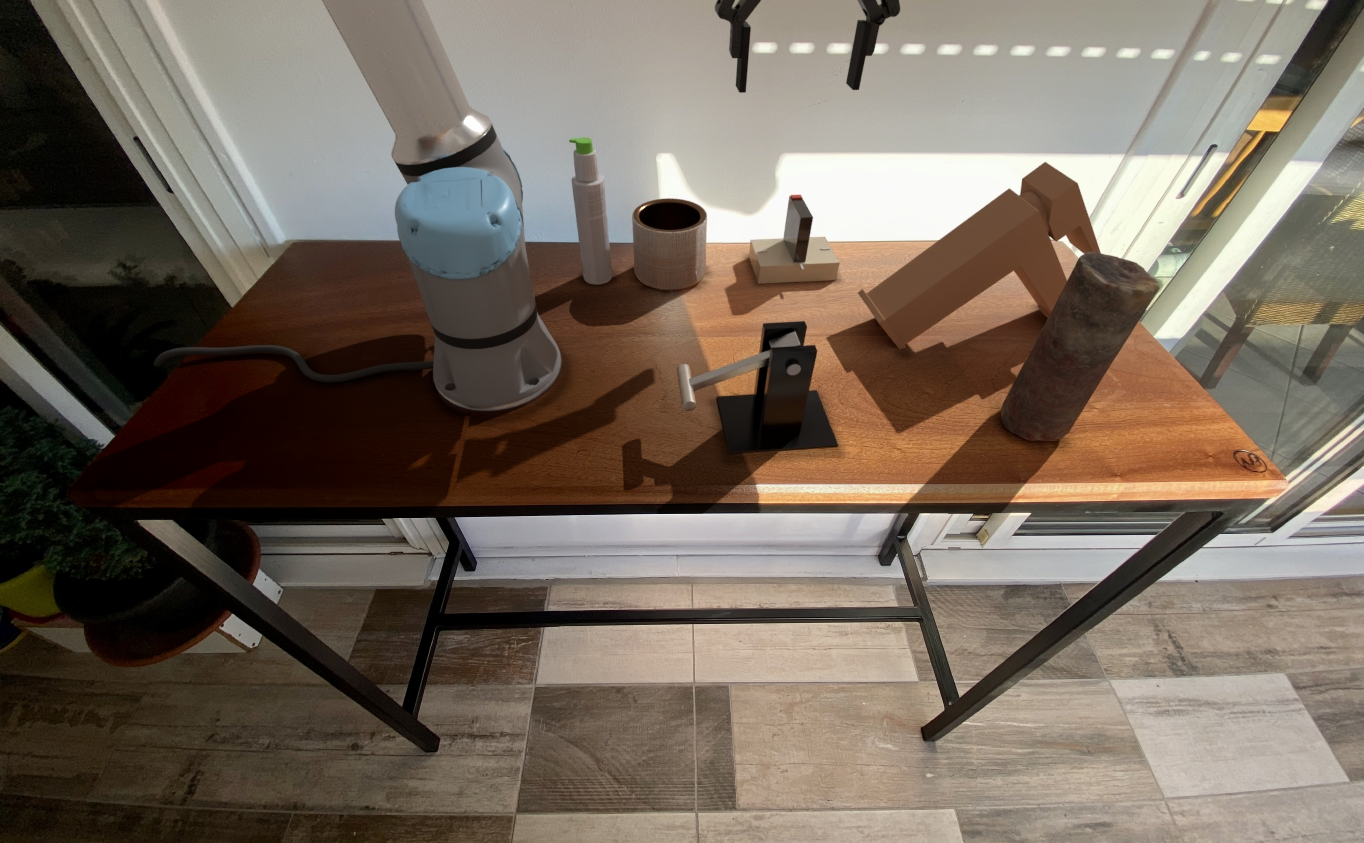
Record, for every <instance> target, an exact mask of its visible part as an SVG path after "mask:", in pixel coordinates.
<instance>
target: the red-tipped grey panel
mask: <svg viewBox="0 0 1364 843" xmlns="http://www.w3.org/2000/svg"><path fill="white" fill-rule="evenodd" d="M813 219H814V216H813V215H812V213H811V210H810V209H809V207H808V206H807V203H806V202H805V200H804V198H803V196H802V194H791V195H789V196H788V203H787V208H786V216H785V223H784V232H783V240H784V242H785V244H786V247H787V249H788V251H789V253H790V255H791V258H792V260H793V262H805V261H806V255H807V250H808V244H809V238H810V237H811V231H812V227H813V221H814V220H813Z"/></svg>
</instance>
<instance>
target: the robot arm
mask: <svg viewBox="0 0 1364 843" xmlns="http://www.w3.org/2000/svg"><path fill="white" fill-rule="evenodd" d="M735 1H736V0H716V3H715V4H714V12H715V13H716V15H717V16H718V18H719V19H721V20H725V21H727V22H729V24H730V25H729V26H730V28H729V29H730V30H729V42H728V44H729V45H728V52H729V54H730V57H731V59H737V60H736V71H735V72H736V74H735V87H736V89H737V91H738V92H739V93H740V94H743V93H747V82H748V71H749V70H748V69H749V67H748V66H749V57H750V44H751V32H752V27H751V25H750V24H749V22H748V21H747V19H748V18H749V17H750V16H751V14H752V13H753V12H754V11H755V9H756V8H757V7H758V5H759V4H760V3H761V2H762V0H738V1H737V3H736V4H735ZM321 2H322V4H323V5H324V7H325V9H326V11H327V12H328V15H329V17H330V18H331V20H332V22H333V24H334V25H335V27H336V29H337V31H338V33H339V34H340V36H341V38H342V40H343V42H344V43H345V45H346V47H347V49H348V51H349V53H350V55H351V56H352V58H353V60H354V63H355V64H356V66H357V67H358V70H359V71H360V73H361V75H362V77H363V78H364V80H365V83H367V86H368V87H369V89H370V91H371V93H372V94H373V96H374V98H375V100H376V102H377V104H378V105H379V107H380V109H381V111H382V113H383V115H384V116H385V118H386V120H387V122H388V124H389V125H390V127H391V129H392V131H393V133H394V136H395V139H394V142H393V144H392V149H391V152H390V156H391V158H392V160H393V162H394V163H395V165H396V167H397V169H398V170H399V172H400V174H401V176H402V177H403V179H404V181H405V183H406V186H405V187H404V188H402V190H401V192H400V193H399V195H398V197H397V198H396V201H395V205H394V220H395V223H396V233H397V237H398V240H399V242H400V244H401V248H402V250H403V252H404V253H405V255H406V257H407V261H408V263H409V266H410V269H411V271H412V274H413V277H414V280H415V283H416V285H417V289H418V291H419V294H420V297H421V300H422V303H423V305H424V308H425V311H426V314H427V316H428V320H429V322H430V325H431V328H432V330H433V333H434V345H433V346H434V347H433V348H434V349H433V360H430V361H429V360H427V361H411V362H410V361H409V362H393V363H385V364H379V365H375V366H370V367H365V368H362V369H359V370H355V371H351V372H346V373H341V374H323V373H318V372H315V371H313V370H312V369H311V368H310V367H309V365H308V364H307V362H306V361H305V359H304V357H303V356H301V354H300V353H298V352H297V351H295V350H293V349H292V348H290V347H287V346H281V345H271V344H261V345H260V344H259V345H243V346H230V347H229V346H228V347H203V346H202V347H201V346H200V347H199V346H187V347H175V348H172V349H169V350H165V351H163V352H161V353H160V354H159V355H158V356H157V357H156V358H155V359H154V361H153V366H154V367H160V366H162V365H164V364H165V363H166V362H167V361H168V360H170V359H171V358H172V359H173V358H175V357H180V356H189V355H190V356H191V355H193V356H194V355H195V356H196V355H198V356H199V355H201V356H229V355H243V354H244V355H245V354H258V353H268V354H269V353H270V354H272V353H273V354H278V355H279V354H281V355H285V356H287V357H290V358H291V359H292V360H293V361H294V362H295V363H296V366H298V368H299V370H300V371H301V373H302V374H303V375H304V376H306V377H307V378H309V379H311V380H312V381H314V382H319V383H325V384H326V383H329V384H333V383H343V382H348V381H353V380H357V379H361V378H365V377H369V376H372V375H376V374H377V375H378V374H381V373H387V372H397V371H415V370H418V371H419V370H432V379H433V383H434V385H435V387H436V391H437V393H438V396H439V398H440V399H441V401H442V402H443V403H444V404H445V405H446V406H447V407H448V408H450V409H451V410H452V411H455V412H458V413H460V414H463V415H466V416H470V417H471V415H472V413H480V414H489V413H490V414H491V413H501V412H506V411H510V410H514V409H518V408H520V407H523V406H526V405H528V404H531V403H532V402H535V401H536V400H538V399H540V398H541V397H542V396H544V395H545V394H546V393H548V392H549V391H550V390H551V389H552V388H553V387H554V386H555V385H556V384H557V382H558V380H559V378H560V377H561V374H562V369H563V359H562V352H561V350H560V348H559V346H558V344H557V342H556V341H555V339H554V338H553V336H552V334H551V333H550V331H549V330H548V328H547V327H546V325H545V323H544V321H543V320H542V319H541V317H540V315H539V312H538V308H537V303H536V298H535V293H534V288H533V281H532V277H531V272H530V267H529V266H530V265H529V260H528V255H527V247H526V237H525V223H524V210H523V202H524V201H523V200H524V191H523V183H522V179H521V174H520V172H519V170H518V166H517V165H516V163H515V162H514V160H513V158H512V157H511V155H510V154H509V152H508V151H507V150H506V148H504V147H503V146H502V144H501V142H500V139H499V136H498V134H497V132H496V129H495V128H494V126H493V123H492V120H491V119H490V117H489V116H488V115H487V114H486V113H485V114H484V113H483V112H481V111H478V110H476V109H474V108H473V107H472V106H470V103H469V102H468V99H467V96H466V95H465V92H464V90H463V88H462V86H461V84H460V81H459V79H458V77H457V75H456V72H455V70H454V68H453V66H452V63H451V61H450V59H449V57H448V54H447V53H446V50H445V47H444V45H443V43H442V40H441V39H440V36H439V34H438V32H437V29H436V27H435V25H434V23H433V19H432V18H431V16H430V14H429V12H428V9H427V8H426V5H425V3H424V0H321ZM857 2H858V5H859V6H860V8H861V10H862V12H863V15H864V16H865V19H857V22H856V28H855V32H854V38H853V43H852V48H851V54H850V59H849V66H848V70H847V76H846V81H845V84H846V85H847V86H848V87H849V88H850V89H851V90H852V91H859V90H860V87H861V81H862V76H863V72H864V67H865V66H864V65H865V62H866V57H872V56H873V54H874V53H875V49H876V44H877V40H878V36H879V30H880V26H882V25H883V24H884V23H885V21H886V19H889V18H891V17H892V18H895V17H897V16H898V15H899V14H900V13H901V4H900V0H880V4H879V3H878V1H877V0H857ZM734 4H735V5H734Z"/></svg>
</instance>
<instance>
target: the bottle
mask: <svg viewBox="0 0 1364 843" xmlns="http://www.w3.org/2000/svg"><path fill="white" fill-rule="evenodd" d="M568 140H569V141H568V142H569V143H572V144H575V149H574V150H573V166H574V176H572V177H571V187H572V196H573V203H574V212H575V222H576V229H577V236H578V246H579V253H580V261H581V270H582V276H583V277H582V278H583V280H584V281H585V282H586V283H587V284H590V285H596V286H597V285H598V286H599V285H604V284H606V283H609V282H610V281H611V280H612V279H613V268H612V258H611V245H610V234H609V221H608V210H607V200H606V186H605V177H604V176H603V175H602V174H600V171H599V170H600V169H599V161H598V155H597V150H596V149H595V148H594V146H593V139H591V138H590V137H579V138H574V137H571V138H570V139H568Z"/></svg>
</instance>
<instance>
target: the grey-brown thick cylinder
mask: <svg viewBox="0 0 1364 843" xmlns="http://www.w3.org/2000/svg"><path fill="white" fill-rule="evenodd" d="M1160 289H1161V287H1160V284H1159V282H1158V281H1157V279H1156V278H1154V277H1152V276H1151V274H1150V272H1148V271H1147V270H1146V269H1145V267H1143V266H1142V265H1140V264H1139V263H1138V262H1136V261H1133V260H1130V259H1125V258H1122V257H1118V256H1114V255H1111V254H1105V253H1102V252H1101V253H1098V252H1088V253H1085V254H1084V253H1083V254H1081V255H1080V256H1079V257H1078V259H1077V261H1076V262H1075V265H1074V267H1073V269H1072V271H1071V273H1070V275H1069V276H1068V278H1067V283H1066V285H1065V287H1064V289H1063V290H1062V292H1061V294H1060V296H1059V298H1058V300H1057V302H1056V304H1055V306H1054V308H1053V310H1052V312H1051V313H1050V315H1049V317H1048V318H1047V319H1046V321H1045V323H1044V325H1043V327H1042V329H1041V331H1040V333H1039V335H1038V336H1037V338H1036V340H1035V342H1034V344H1033V345H1032V348H1031V349H1030V351H1029V353H1028V355H1027V357H1026V359H1025V361H1024V362H1023V364H1022V366H1021V368H1020V370H1019V372H1018V373H1017V375H1016V377H1015V379H1014V381H1013V383H1012V385H1011V386H1010V389H1009V390H1008V392H1007V395H1006V397H1005V398H1004V401H1003V402H1002V405H1001V409H1000V411H1001V412H1000V415H1001V423H1002V425H1003V427H1004V428H1006V430H1008V431H1009V432H1010V433H1012V434H1014V435H1017V436H1019V437H1020V438H1022V439H1024V440H1026V441H1033V442H1034V441H1035V442H1036V441H1040V442H1041V441H1042V442H1047V441H1048V442H1057V441H1059V440H1062V439H1063V438H1065V437H1066V436H1067V435H1068V434H1069V433H1070V431H1072V428H1073V427H1074V426H1075V424H1076V422H1077V420H1078V419H1079V417H1080V416H1081V414H1082V412H1083V411H1084V409H1085V408H1086V406H1087V405H1088V403H1089V401H1090V399H1091V398H1092V396H1093V395H1094V393H1095V392H1096V390H1097V388H1098V387H1099V385H1100V383H1101V381H1102V380H1103V378H1104V376H1105V375H1106V373H1107V372H1108V370H1109V369H1110V367H1111V366H1112V364H1113V362H1114V361H1115V359H1116V358H1117V356H1118V355H1119V353H1120V352H1121V350H1122V348H1123V347H1124V346H1125V344H1126V343H1127V340H1129V337H1130V336H1131V334H1132V333H1133V331H1134V329H1135V328H1136V326H1137V325H1138V323H1139V322H1140V320H1141V319H1142V317H1143V316H1144V314H1145V313H1146V311H1147V309H1148V308H1149V306H1150V305H1151V303H1152V301H1153V300H1154V298H1155V297H1156V294H1157V293H1158V292H1159V290H1160Z"/></svg>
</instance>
